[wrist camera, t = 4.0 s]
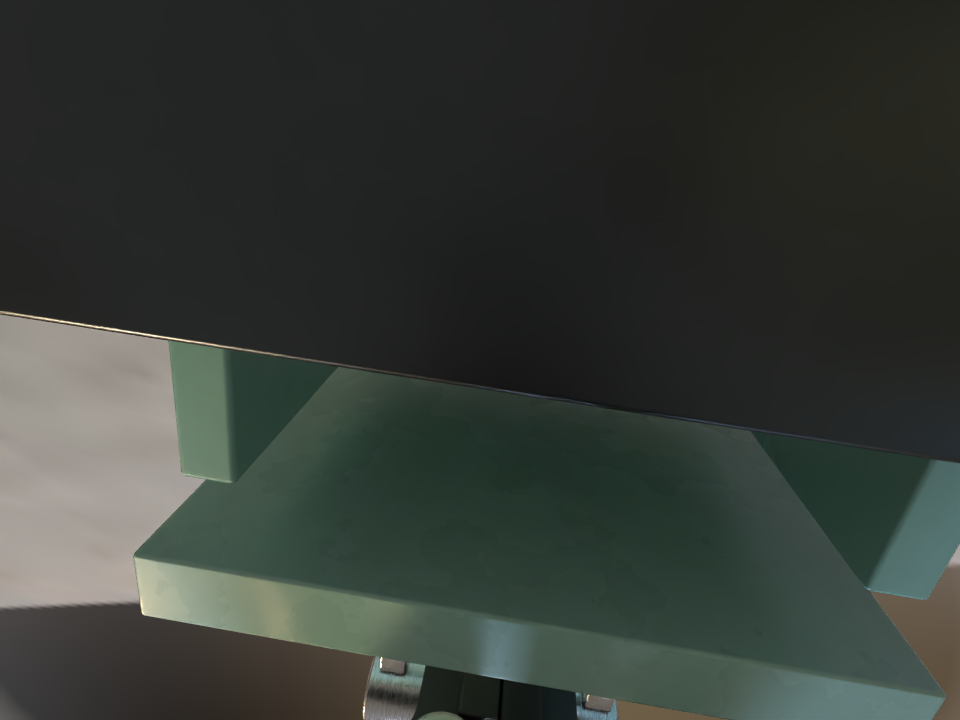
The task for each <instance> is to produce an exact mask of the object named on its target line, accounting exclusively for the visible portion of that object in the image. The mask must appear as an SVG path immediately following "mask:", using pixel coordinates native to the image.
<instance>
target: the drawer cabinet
mask: <svg viewBox="0 0 960 720" xmlns="http://www.w3.org/2000/svg"><path fill="white" fill-rule="evenodd" d="M0 314H2V315H8V316H14V317H21V318H27V319H34V320H40V321H47V322H53V323H59V324H66V325H72V326H79V327H85V328H92V329H98V330H104V331H111V332H117V333H124V334H130V335H137V336H143V337H149V338H156V339H162V340H169V341H175V342H182V343H188V344H194V345H201V346H207V347H214V348H220V349H227V350H233V351H239V352H246V353H252V354H259V355H265V356H272V357H278V358H284V359H291V360H297V361H304V362H310V363H317V364H323V365H330V366H336V367H342V368H349V369H355V370H362V371H368V372H375V373H381V374H387V375H394V376H400V377H407V378H413V379H420V380H426V381H432V382H439V383H445V384H452V385H458V386H465V387H471V388H477V389H484V390H490V391H497V392H503V393H510V394H516V395H522V396H529V397H535V398H542V399H548V400H555V401H561V402H567V403H574V404H580V405H587V406H593V407H600V408H606V409H612V410H619V411H625V412H632V413H638V414H645V415H651V416H657V417H664V418H670V419H677V420H683V421H690V422H696V423H703V424H709V425H715V426H722V427H728V428H735V429H741V430H748V431H754V432H760V433H767V434H773V435H780V436H786V437H793V438H799V439H805V440H812V441H818V442H825V443H831V444H838V445H844V446H850V447H857V448H863V449H870V450H876V451H883V452H889V453H895V454H902V455H908V456H915V457H921V458H928V459H934V460H940V461H947V462H953V463H960V0H0Z"/></svg>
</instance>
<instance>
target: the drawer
mask: <svg viewBox="0 0 960 720" xmlns="http://www.w3.org/2000/svg"><path fill="white" fill-rule="evenodd" d="M169 349H170V359H171V370H172V380H173V390H174V401H175V411H176V421H177V431H178V442H179V452H180V462H181V472H182V473H183V475H185V476H189V477H195V478H201V479H206V480H205V481H204V482H203V483H202V484H201V485H200V486H199V488H198V489H197V490H196V491H195V492H194V493H193V494H192V495H191V496H190V497H189V498H188V499H187V500H186V501H185V502H184V503H183V504H182V505H181V506H180V507H179V508H178V509H177V510H176V511H175V512H174V513H173V514H172V515H171V516H170V517H169V518H168V519H167V520H166V521H165V522H164V523H163V524H162V525H161V526H160V527H159V528H158V529H157V530H156V531H155V532H154V533H153V534H152V536H151V537H150V538H149V539H148V540H147V541H146V542H145V543H144V544H143V545H142V546H141V547H140V548H139V549H138V550H137V551H136V552H135V554H134V556H133V558H134V565H135V572H136V579H137V585H138V592H139V599H140V606H141V613H142V614H143V615H146V616H152V617H157V618H163V619H168V620H174V621H179V622H185V623H191V624H197V625H202V626H208V627H213V628H219V629H224V630H230V631H236V632H241V633H247V634H252V635H258V636H263V637H270V638H275V639H280V640H286V641H292V642H297V643H303V644H308V645H314V646H319V647H325V648H331V649H336V650H342V651H347V652H353V653H359V654H364V655H370V656H374V659H373V662H372V665H371V669H370V673H369V677H368V681H367V686H366V691H365V696H364V702H363V719H364V720H411V719H412V717H413V715H414V713H415V711H416V707H417V703H418V699H419V694H420V689H421V685H422V680H423V675H424V671H425V666H431V667H437V668H443V669H448V670H454V671H459V672H465V673H471V674H476V675H482V676H487V677H493V678H499V679H504V680H510V681H515V682H521V683H527V684H532V685H538V686H543V687H549V688H555V689H560V690H566V691H571V692H576V706H577V720H619V711H618V703H617V700H622V701H627V702H633V703H639V704H644V705H650V706H655V707H661V708H667V709H672V710H678V711H683V712H690V713H695V714H701V715H706V716H711V717H717V718H723V719H729V720H932V719H933V717H934V715H935V714H936V712H937V711H938V709H939V708H940V706H941V705H942V703H943V702H944V700H945V698H946V695H945V692H944V691H943V690H942V688H941V687H940V685H939V684H938V683H937V681H936V680H935V679H934V678H933V676H932V675H931V673H930V672H929V670H928V669H927V668H926V666H925V665H924V664H923V662H922V661H921V660H920V658H919V657H918V656H917V654H916V653H915V652H914V650H913V649H912V647H911V646H910V645H909V643H908V642H907V641H906V639H905V638H904V637H903V635H902V634H901V633H900V631H899V630H898V628H897V627H896V626H895V624H894V623H893V622H892V621H891V619H890V618H889V616H888V615H887V614H886V612H885V611H884V609H883V608H882V607H881V606H880V604H879V603H878V601H877V600H876V599H875V597H874V596H873V595H872V593H871V592H870V591H873V592H879V593H885V594H891V595H897V596H903V597H910V598H915V599H922V600H926V599H928V598H929V596H930V595H931V593H932V591H933V589H934V587H935V586H936V584H937V582H938V580H939V579H940V577H941V575H942V574H943V572H944V570H945V568H946V567H947V565H948V563H949V561H950V560H951V558H952V556H953V554H954V553H955V551H956V549H957V547H958V546H959V544H960V463H953V462H947V461H940V460H934V459H928V458H921V457H915V456H908V455H902V454H895V453H889V452H883V451H876V450H870V449H863V448H857V447H850V446H844V445H838V444H831V443H825V442H818V441H812V440H805V439H799V438H793V437H786V436H780V435H773V434H767V433H760V432H754V431H748V430H741V429H735V428H728V427H722V426H715V425H709V424H703V423H696V422H690V421H683V420H677V419H670V418H664V417H657V416H651V415H645V414H638V413H632V412H625V411H619V410H612V409H606V408H600V407H593V406H587V405H580V404H574V403H567V402H561V401H555V400H548V399H542V398H535V397H529V396H522V395H516V394H510V393H503V392H497V391H490V390H484V389H477V388H471V387H465V386H458V385H452V384H445V383H439V382H432V381H426V380H420V379H413V378H407V377H400V376H394V375H387V374H381V373H375V372H368V371H362V370H355V369H349V368H342V367H336V366H330V365H323V364H317V363H310V362H304V361H297V360H291V359H284V358H278V357H272V356H265V355H259V354H252V353H246V352H239V351H233V350H227V349H220V348H214V347H207V346H201V345H194V344H188V343H182V342H175V341H169Z"/></svg>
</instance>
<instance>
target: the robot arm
mask: <svg viewBox="0 0 960 720" xmlns="http://www.w3.org/2000/svg"><path fill="white" fill-rule="evenodd" d="M411 720H577V706H576V692H571V691H566V690H560V689H555V688H549V687H543V686H538V685H532V684H527V683H521V682H515V681H510V680H504V679H499V678H493V677H487V676H482V675H476V674H471V673H465V672H459V671H454V670H448V669H443V668H437V667H431V666H425V671H424V675H423V680H422V685H421V689H420V694H419V699H418V703H417V707H416V711H415V713H414V715H413V717H412V719H411Z"/></svg>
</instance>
